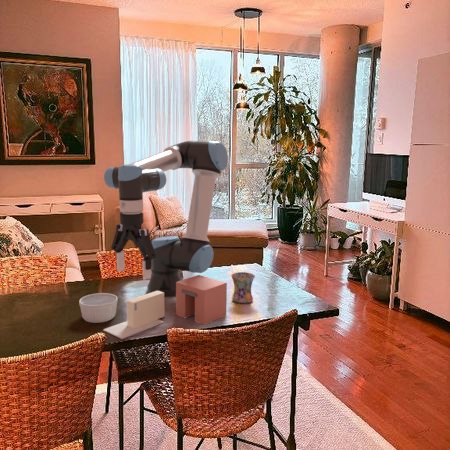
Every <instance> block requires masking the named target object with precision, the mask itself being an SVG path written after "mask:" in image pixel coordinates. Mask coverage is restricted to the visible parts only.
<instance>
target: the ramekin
mask: <svg viewBox="0 0 450 450" xmlns="http://www.w3.org/2000/svg"><path fill="white" fill-rule="evenodd" d="M118 300H119V299H118V296H117V295H115V294H112V293H108V292H107V293H106V292H98V293H92V294H88V295H85V296H82V297H81V298H80V299H79V301H78V305H79V307H80V312H81V317H82V318H83V320H84V321H85V322H87V323H92V324H96V323H97V324H98V323H99V324H100V323H105V322H109V321H110V320H111V321H112V319H114V318H115V316H116V314H117V307H118Z"/></svg>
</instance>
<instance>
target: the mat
mask: <svg viewBox="0 0 450 450" xmlns="http://www.w3.org/2000/svg"><path fill="white" fill-rule="evenodd" d="M163 323H165V322H164V321H163V320H161V319H157V320H154V321H151V322H149V323H146V324H144V325H141V326H138V327H136V328H132V327H130V326H127V320H126V321H123V322H120V323H117V324H114V325H112V326H109V327H106V328H103V331H104V332H106V333H108V334H110V335H112V336H115V337H117V338H118V339H120V340H123V339H126V338H128V337H131V336H133V335H136V334H138V333H141V332H143V331H146V330H148V329H152V328H154V327H156V326H159V325H162V324H163Z"/></svg>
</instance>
